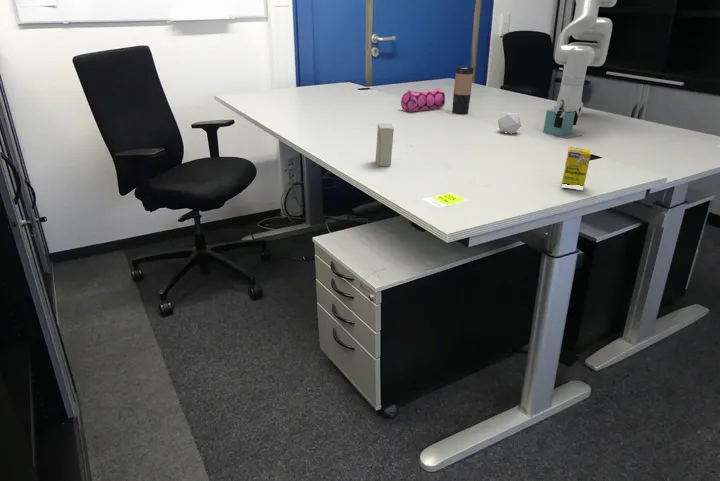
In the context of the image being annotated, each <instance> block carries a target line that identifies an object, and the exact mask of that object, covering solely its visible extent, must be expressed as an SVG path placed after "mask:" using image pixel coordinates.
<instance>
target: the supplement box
mask: <svg viewBox="0 0 720 481" xmlns="http://www.w3.org/2000/svg"><path fill="white" fill-rule="evenodd" d="M567 151H568V152H567V154H566V155H567V156H566V161H565V166H564V171H563V176H562V180H561V185H562V184H567V185H580V186H585V182H586V178H587V173H588V169H589V164H590V160H591V154H592V152H591V151H592V150H591V149H590V148H589V149H588V148H582V147H581V148H580V147H573V146H569V147H568V150H567Z"/></svg>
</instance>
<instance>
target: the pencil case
mask: <svg viewBox="0 0 720 481" xmlns="http://www.w3.org/2000/svg"><path fill="white" fill-rule="evenodd" d="M445 102H446V94H445V92H444V91H443V90H442V89H441V88H436V89H434V90H428V91H427V90H426V91H423V90H422V91H415V90H410V89H408V90H407V91H406V92H405V93H403V95H402V97H401V100H400V106H401V108H402V110H403V111H404V112H406V113H413V112H420V111H421V112H422V111H429V110H431V111H432V110H436V109H442V108H443V107H444V106H445V104H446V103H445Z"/></svg>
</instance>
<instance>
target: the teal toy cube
mask: <svg viewBox="0 0 720 481" xmlns="http://www.w3.org/2000/svg"><path fill="white" fill-rule="evenodd" d="M554 112H555V111H554V108H552V109H547V110H546V114H545V118H544V125H543V129H542V130H543V131H542V132H543V133H545V134H546V132H547V133H551V134H555V135H559V136H560V135H566V134H571V133H573V132H572V130H573V127H574V125H573V122H574V116H575V112H574V111H573V112H567V113H566V112H565V114H564V115H563V117H562V118H563V123H562V128H557V127H554V122H555V113H554ZM560 113H562V112H560Z"/></svg>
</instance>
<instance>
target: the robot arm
mask: <svg viewBox="0 0 720 481" xmlns="http://www.w3.org/2000/svg"><path fill="white" fill-rule="evenodd" d="M617 1H618V0H575V10H574V16H573V20H572V21H570V23H568V24H567V25H566V26H565V27H564V28H563V29H562V31H561V32H560V34H559V36H558V38H557V42H556V48H555V53H554V61H555V63H556V64H557V65H563V71H562V77H561V83H560V88H559V91H558V92H559V93H558V95H557V99H556V103H555V105H554V107H553V109H554V111H555V112H554V113H555V122H554V127H557V128H562V123H563V118H562V117H563V115H564V114H565V112H566V113H567V112H573V111H574V112H575V116H574V122H573V126H577V123H578V119H579V117H580V116H582V112H581V110H582V109H583V108H584V103H583V101H582V99H583V91H584V84H585V79H586V74H587V69H588V67H601V66H604V64H605V62H606V58H607V55H608V50H609V46H610V41H611V36H612V31H613V22H612V20H611V19H610V18H608V17H599V8H600V7H601V8H612V7H614V6H615V5H616V3H617ZM571 36H572V38H573V39H575V40H577V41H579V42H577V41H576V42H570V43H569V44H565V42H566V40H567V39H568V38H569V37H571ZM581 41H591V42H581ZM592 41H593V43H592ZM595 42H597V43H595ZM560 112H562V113H560Z"/></svg>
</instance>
